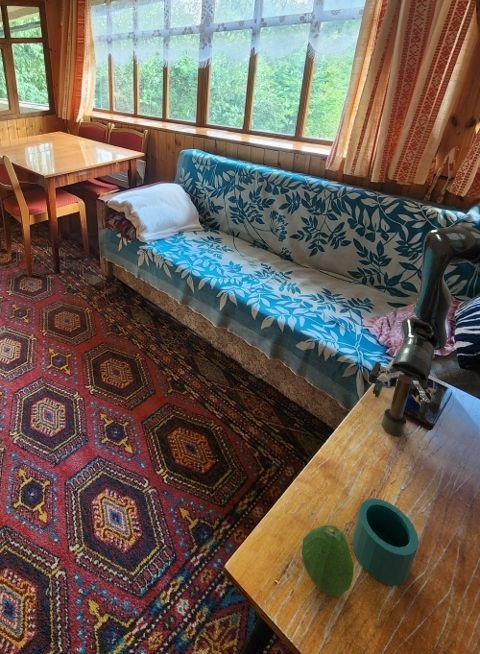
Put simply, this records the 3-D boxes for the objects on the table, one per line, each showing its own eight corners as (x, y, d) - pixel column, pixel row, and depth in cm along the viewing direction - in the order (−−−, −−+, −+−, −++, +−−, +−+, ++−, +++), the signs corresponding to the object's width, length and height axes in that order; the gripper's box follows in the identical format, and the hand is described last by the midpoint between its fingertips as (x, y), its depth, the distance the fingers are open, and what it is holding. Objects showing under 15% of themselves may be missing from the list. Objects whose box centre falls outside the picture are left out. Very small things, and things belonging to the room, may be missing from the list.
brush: (398, 421, 93) (410, 372, 87) (407, 437, 89) (420, 387, 83) (378, 419, 94) (389, 370, 88) (386, 435, 90) (398, 385, 84)
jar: (394, 532, 71) (403, 502, 68) (418, 591, 64) (429, 560, 61) (345, 524, 73) (352, 494, 70) (363, 579, 65) (371, 549, 62)
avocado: (353, 572, 66) (363, 531, 62) (343, 620, 61) (353, 578, 57) (306, 539, 72) (312, 498, 67) (293, 580, 66) (299, 539, 62)
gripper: (382, 341, 101) (365, 376, 90) (450, 368, 91) (440, 411, 80) (377, 362, 103) (360, 399, 93) (443, 391, 93) (432, 435, 83)
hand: (397, 404), depth 87 cm, fingers open, 8 cm apart
